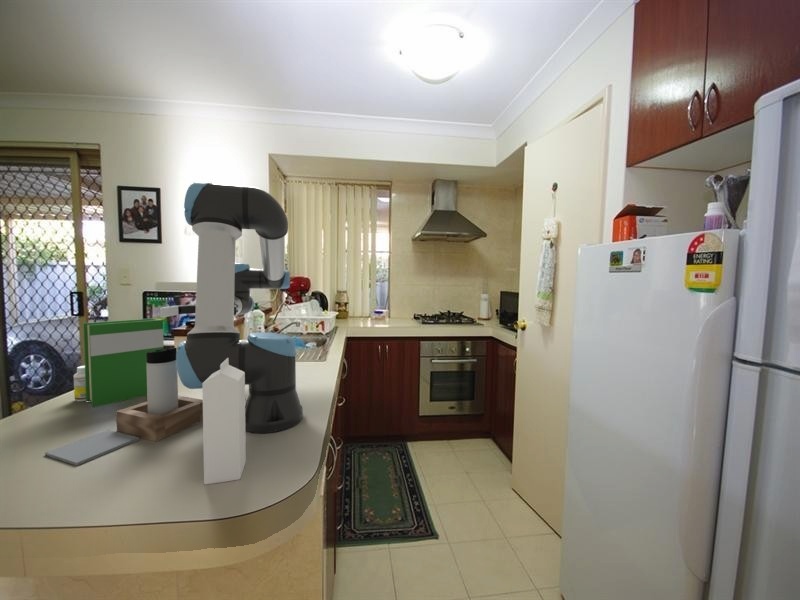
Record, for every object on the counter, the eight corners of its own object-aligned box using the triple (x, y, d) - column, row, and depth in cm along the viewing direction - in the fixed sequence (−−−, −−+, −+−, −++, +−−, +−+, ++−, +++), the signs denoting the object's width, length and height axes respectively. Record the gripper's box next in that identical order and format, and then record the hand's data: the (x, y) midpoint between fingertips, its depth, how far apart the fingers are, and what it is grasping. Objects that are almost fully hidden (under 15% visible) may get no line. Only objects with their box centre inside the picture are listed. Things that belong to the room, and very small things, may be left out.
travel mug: (163, 431, 77) (161, 351, 76) (141, 428, 78) (139, 349, 77) (185, 420, 83) (184, 346, 82) (164, 418, 85) (163, 344, 84)
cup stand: (207, 418, 85) (207, 400, 84) (156, 441, 72) (155, 420, 72) (170, 411, 89) (170, 393, 89) (116, 431, 77) (116, 411, 77)
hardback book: (92, 407, 91) (89, 325, 90) (86, 401, 95) (83, 323, 94) (164, 390, 106) (162, 319, 104) (156, 386, 110) (154, 318, 109)
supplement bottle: (92, 394, 101) (90, 363, 101) (104, 396, 100) (103, 364, 99) (69, 400, 96) (68, 367, 95) (82, 403, 94) (80, 369, 94)
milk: (204, 485, 57) (200, 366, 56) (213, 466, 63) (210, 358, 62) (240, 479, 59) (238, 363, 58) (246, 461, 65) (244, 356, 63)
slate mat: (138, 440, 73) (138, 437, 73) (76, 465, 63) (76, 462, 63) (107, 432, 77) (107, 429, 76) (45, 455, 66) (44, 452, 66)
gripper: (261, 318, 111) (231, 326, 89) (189, 317, 110) (141, 325, 89) (261, 296, 110) (230, 300, 89) (189, 295, 109) (140, 298, 88)
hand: (185, 312), depth 89 cm, fingers open, 13 cm apart
